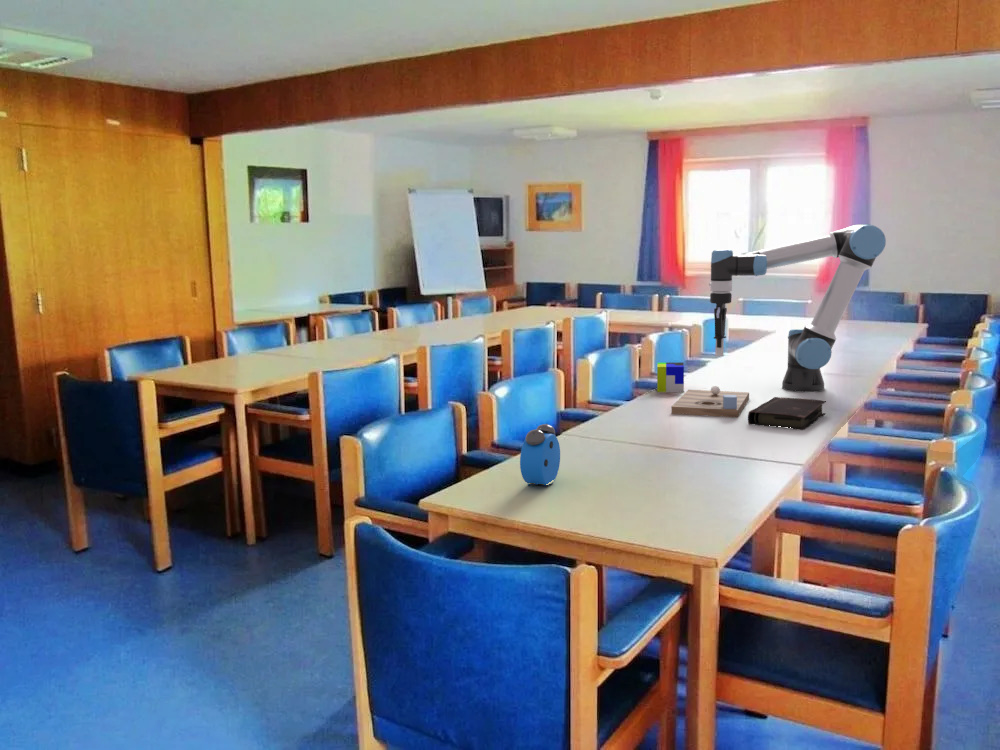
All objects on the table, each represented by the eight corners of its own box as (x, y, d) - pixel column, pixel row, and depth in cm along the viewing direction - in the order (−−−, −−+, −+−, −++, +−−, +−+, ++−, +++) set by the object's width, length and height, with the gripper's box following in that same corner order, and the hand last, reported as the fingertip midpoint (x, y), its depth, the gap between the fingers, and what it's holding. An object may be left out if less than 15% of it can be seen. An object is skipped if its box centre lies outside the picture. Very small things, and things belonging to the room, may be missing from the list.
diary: (746, 425, 263) (747, 410, 262) (771, 409, 283) (772, 395, 282) (806, 432, 252) (806, 416, 251) (828, 415, 272) (828, 400, 271)
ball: (720, 394, 297) (720, 385, 297) (719, 395, 295) (719, 387, 294) (711, 393, 299) (711, 385, 298) (710, 395, 296) (710, 386, 295)
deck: (688, 396, 308) (688, 389, 307) (749, 399, 299) (749, 392, 298) (671, 413, 281) (671, 406, 280) (737, 417, 272) (737, 410, 272)
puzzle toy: (683, 392, 315) (683, 366, 313) (657, 392, 317) (657, 366, 315) (683, 387, 325) (683, 362, 323) (657, 387, 327) (657, 362, 325)
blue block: (735, 406, 277) (735, 394, 276) (736, 409, 273) (736, 397, 272) (722, 406, 278) (723, 394, 277) (724, 409, 274) (724, 397, 273)
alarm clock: (540, 475, 217) (538, 420, 214) (562, 477, 214) (560, 422, 211) (520, 490, 205) (518, 432, 202) (542, 493, 202) (541, 434, 200)
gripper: (713, 290, 307) (711, 352, 311) (707, 293, 295) (705, 358, 300) (734, 290, 304) (732, 353, 308) (728, 293, 292) (727, 359, 297)
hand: (719, 355), depth 304 cm, fingers closed
